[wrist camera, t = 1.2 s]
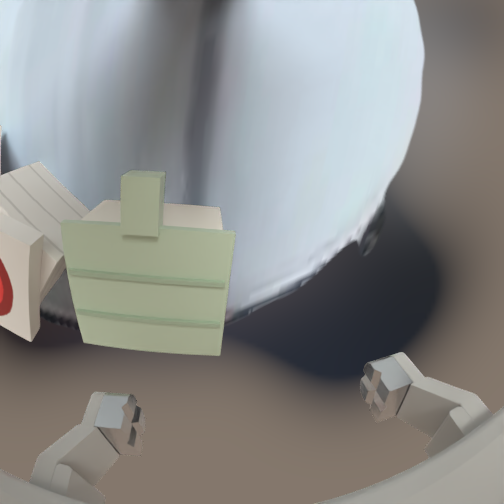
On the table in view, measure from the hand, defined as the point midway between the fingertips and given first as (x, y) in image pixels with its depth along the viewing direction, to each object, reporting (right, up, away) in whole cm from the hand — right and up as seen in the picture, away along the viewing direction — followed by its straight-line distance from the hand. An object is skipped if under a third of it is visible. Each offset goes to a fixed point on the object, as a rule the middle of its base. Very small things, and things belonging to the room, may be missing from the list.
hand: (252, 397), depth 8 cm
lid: (-13, +3, +24) cm, 27 cm away
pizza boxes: (-38, +13, +26) cm, 48 cm away
